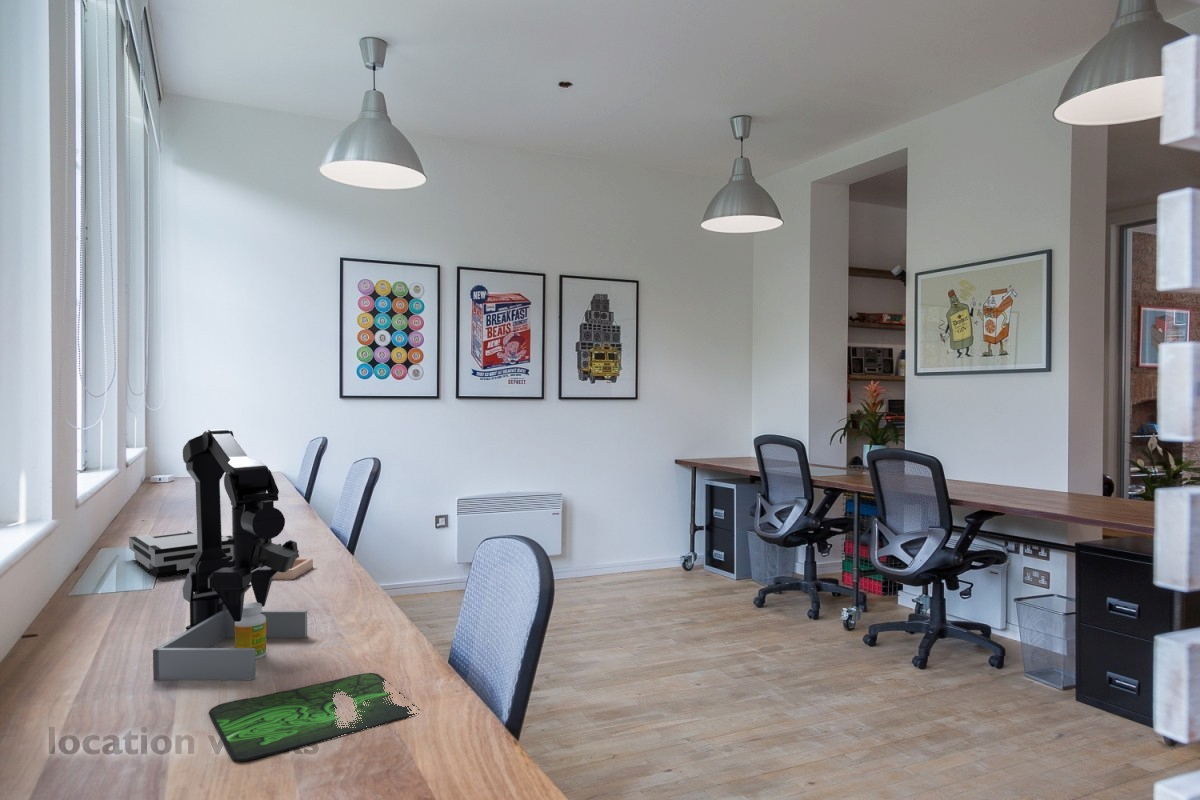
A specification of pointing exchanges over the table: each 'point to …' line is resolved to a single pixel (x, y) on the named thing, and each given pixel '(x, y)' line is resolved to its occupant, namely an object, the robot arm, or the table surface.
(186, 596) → the robot arm
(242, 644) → the supplement bottle
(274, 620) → the open side box
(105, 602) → the table surface
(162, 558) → the game console
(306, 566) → the ball dish
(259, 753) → the mouse mat
